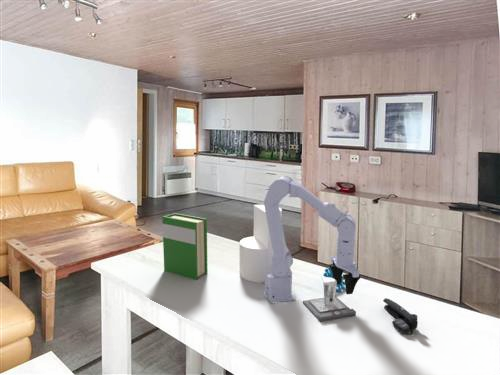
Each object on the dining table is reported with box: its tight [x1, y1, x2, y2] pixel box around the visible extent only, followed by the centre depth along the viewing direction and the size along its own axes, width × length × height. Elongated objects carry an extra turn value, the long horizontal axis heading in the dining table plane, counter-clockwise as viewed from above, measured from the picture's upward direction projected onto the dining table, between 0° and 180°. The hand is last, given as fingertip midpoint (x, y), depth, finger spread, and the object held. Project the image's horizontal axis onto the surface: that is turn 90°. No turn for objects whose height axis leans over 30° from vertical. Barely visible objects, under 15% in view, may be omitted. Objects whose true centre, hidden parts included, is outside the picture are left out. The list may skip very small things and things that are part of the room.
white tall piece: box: [239, 204, 283, 283], centre depth 149 cm, size 17×17×28 cm
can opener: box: [383, 297, 418, 334], centre depth 115 cm, size 18×7×6 cm, turn 5°
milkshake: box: [321, 277, 337, 306], centre depth 122 cm, size 4×5×10 cm
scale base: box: [302, 295, 357, 323], centre depth 122 cm, size 13×13×2 cm
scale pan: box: [309, 298, 346, 313], centre depth 123 cm, size 10×8×1 cm
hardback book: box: [162, 212, 208, 281], centre depth 150 cm, size 18×7×24 cm, turn 59°
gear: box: [322, 266, 346, 293], centre depth 139 cm, size 11×6×10 cm
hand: (343, 288), depth 124 cm, fingers open, 7 cm apart
